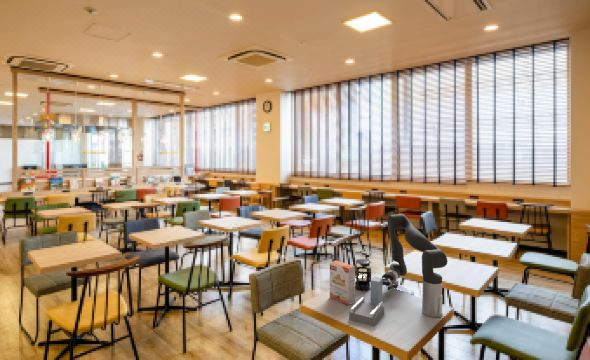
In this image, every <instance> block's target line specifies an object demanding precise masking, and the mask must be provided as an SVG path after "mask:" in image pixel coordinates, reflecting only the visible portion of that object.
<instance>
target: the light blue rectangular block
mask: <svg viewBox="0 0 590 360" xmlns="http://www.w3.org/2000/svg"><path fill="white" fill-rule="evenodd" d="M383 286H384V285H383V278H382V277H379V276H374V277H373V278H371V282H370V302H369V303H373V304H377V305H378V304H379V303H380V302H383Z"/></svg>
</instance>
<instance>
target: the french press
mask: <svg viewBox="0 0 590 360" xmlns="http://www.w3.org/2000/svg"><path fill="white" fill-rule="evenodd" d="M359 253H360V254H361V255H362V256H364V254H367V251H366V250H360V251H359ZM357 264H358V265H360V266H357V267H356V266H355V275H356V276H355V290H356V291H360V292H368V291H371V279H372V267H370V266H371V265H370V264H371V260H369V259H366V258H360V259H359V258H358V259H355V265H357ZM360 270H362V271H360ZM364 270H366V271H364ZM359 274H360V275H359Z"/></svg>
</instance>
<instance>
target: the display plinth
mask: <svg viewBox="0 0 590 360" xmlns="http://www.w3.org/2000/svg"><path fill="white" fill-rule="evenodd" d="M384 315H385V306H384V302H383V301H382V302H380V303H379V304H378V305H377V304H373V303H370V302H367V301H365V297H361V298H360V299H359V300H358V301H356V303H355V304H353V305H352V307H350V310H349V311H348V319H349V320H350V321H353V322H355V323H360V324H364V325H368V326H371V327H375V326H376V325H377V324H378V323H379V322H380V320H381V318H382V317H383V316H384Z"/></svg>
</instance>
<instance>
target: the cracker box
mask: <svg viewBox="0 0 590 360" xmlns="http://www.w3.org/2000/svg"><path fill="white" fill-rule="evenodd" d="M355 268H356V266H354V265H352V264H349V263H345V262H342V261H340V260H333V261H331V262H329V298H330V299H333V300H335V301H338V302H340V303H341V304H345V305H347V306H350V305H352V304H353V303H355V300H356V299H355V298H356V295H355V293H356V291H355V290H356V289H355V282H356V276H355V275H356V271H355Z"/></svg>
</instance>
